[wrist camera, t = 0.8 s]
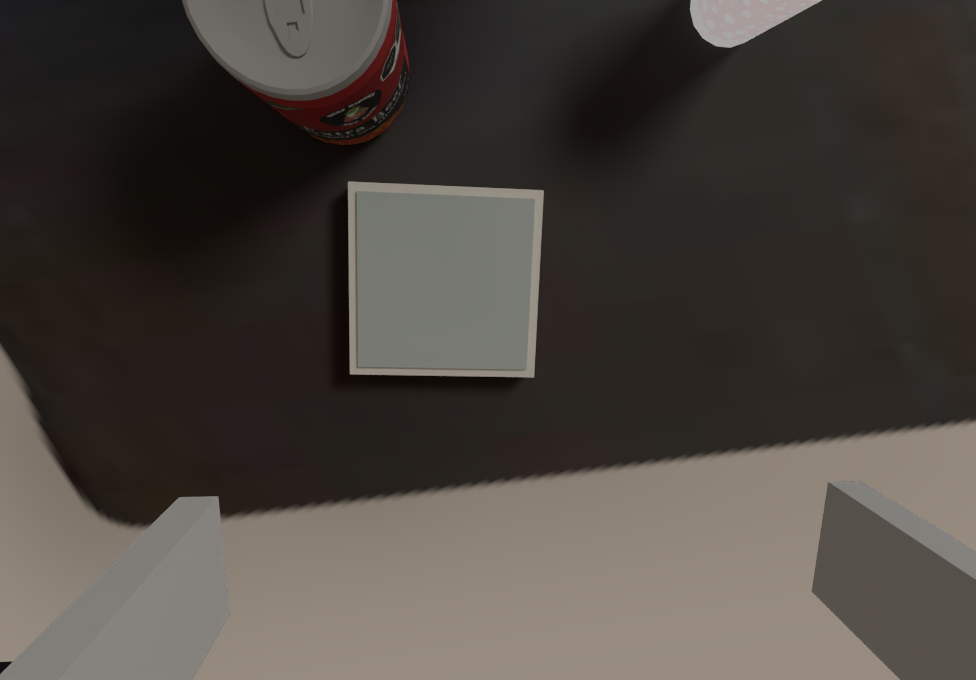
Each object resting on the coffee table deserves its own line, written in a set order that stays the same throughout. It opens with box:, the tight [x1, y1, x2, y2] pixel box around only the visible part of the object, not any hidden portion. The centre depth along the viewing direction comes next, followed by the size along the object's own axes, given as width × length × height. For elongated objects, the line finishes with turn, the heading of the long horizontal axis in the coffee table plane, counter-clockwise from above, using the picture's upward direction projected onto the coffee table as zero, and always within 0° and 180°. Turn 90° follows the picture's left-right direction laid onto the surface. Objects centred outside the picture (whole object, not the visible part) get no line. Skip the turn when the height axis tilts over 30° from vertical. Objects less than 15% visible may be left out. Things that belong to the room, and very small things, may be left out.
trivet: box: [348, 182, 544, 377], centre depth 32 cm, size 11×11×2 cm
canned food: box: [182, 0, 410, 145], centre depth 25 cm, size 8×8×11 cm
